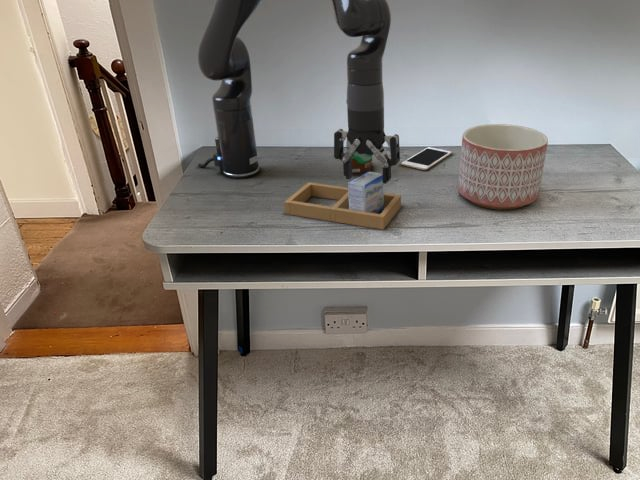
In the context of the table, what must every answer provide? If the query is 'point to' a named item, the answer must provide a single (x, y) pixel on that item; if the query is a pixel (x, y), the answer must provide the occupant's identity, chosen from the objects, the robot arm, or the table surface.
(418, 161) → the cell phone
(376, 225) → the wooden divided frame
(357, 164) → the food container
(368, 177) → the medicine box
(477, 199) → the planter
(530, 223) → the table surface
